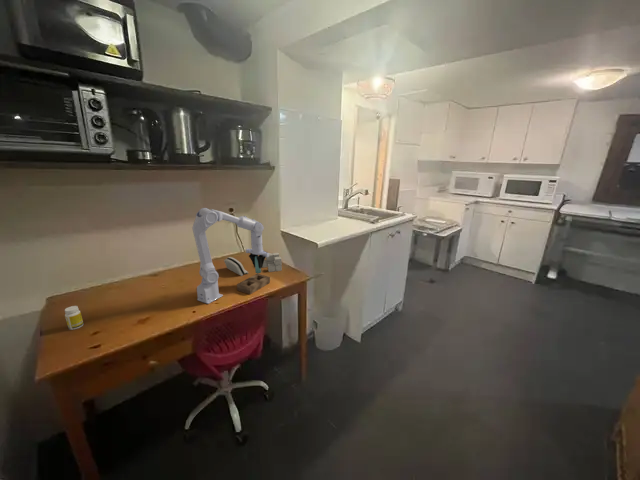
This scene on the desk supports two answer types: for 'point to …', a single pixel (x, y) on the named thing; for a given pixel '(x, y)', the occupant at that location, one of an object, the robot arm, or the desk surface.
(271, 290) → the desk surface
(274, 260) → the puzzle cube
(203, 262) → the robot arm
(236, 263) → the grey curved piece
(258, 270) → the peg
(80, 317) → the supplement bottle
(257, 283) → the hole block
